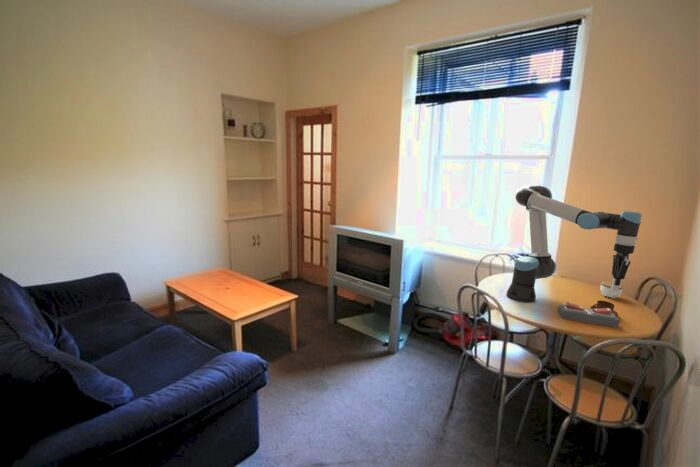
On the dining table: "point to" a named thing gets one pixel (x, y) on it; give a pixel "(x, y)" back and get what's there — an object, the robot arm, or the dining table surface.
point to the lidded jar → (609, 290)
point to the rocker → (574, 306)
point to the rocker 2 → (602, 310)
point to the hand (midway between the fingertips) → (614, 290)
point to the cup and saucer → (605, 306)
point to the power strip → (588, 316)
